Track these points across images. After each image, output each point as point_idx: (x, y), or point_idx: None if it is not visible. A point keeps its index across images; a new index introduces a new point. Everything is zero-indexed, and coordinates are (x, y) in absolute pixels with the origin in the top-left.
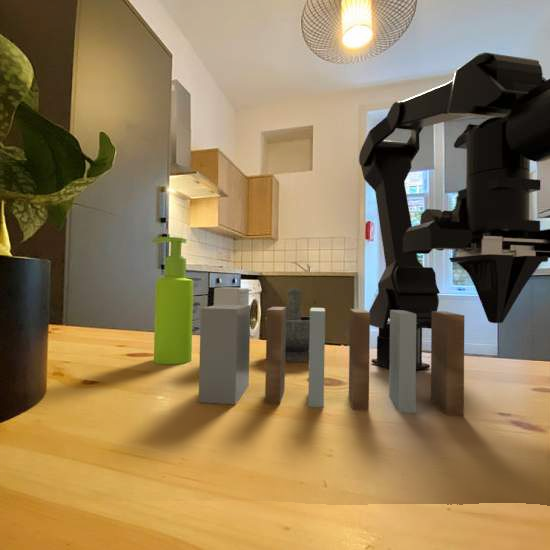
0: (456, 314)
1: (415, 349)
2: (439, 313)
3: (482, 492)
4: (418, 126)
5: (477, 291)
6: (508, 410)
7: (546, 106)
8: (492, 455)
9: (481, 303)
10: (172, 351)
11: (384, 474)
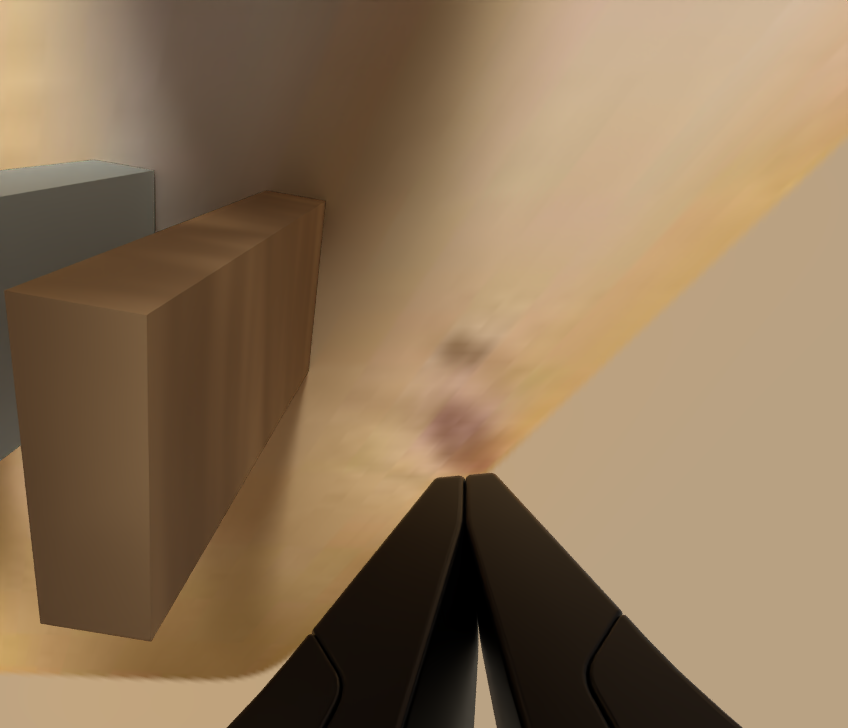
0: (121, 585)
1: (2, 456)
2: (27, 487)
3: (171, 667)
4: None
5: (311, 642)
6: (507, 319)
7: None
8: (257, 574)
9: (375, 552)
10: None
11: (19, 621)
